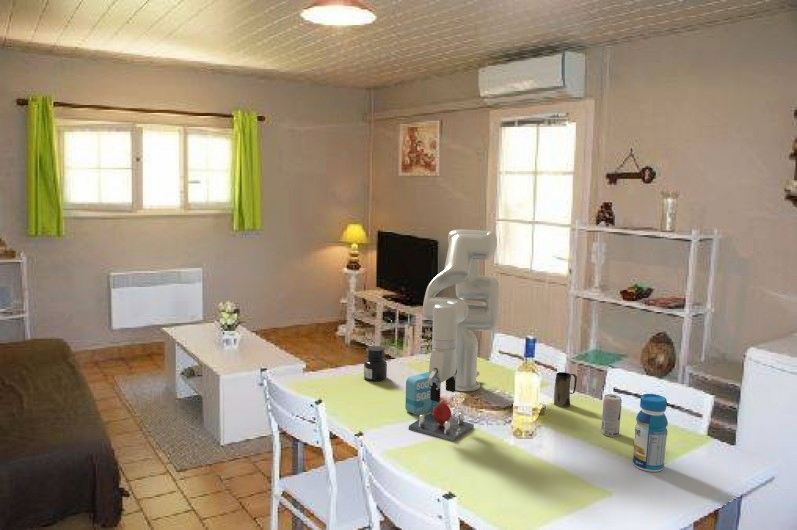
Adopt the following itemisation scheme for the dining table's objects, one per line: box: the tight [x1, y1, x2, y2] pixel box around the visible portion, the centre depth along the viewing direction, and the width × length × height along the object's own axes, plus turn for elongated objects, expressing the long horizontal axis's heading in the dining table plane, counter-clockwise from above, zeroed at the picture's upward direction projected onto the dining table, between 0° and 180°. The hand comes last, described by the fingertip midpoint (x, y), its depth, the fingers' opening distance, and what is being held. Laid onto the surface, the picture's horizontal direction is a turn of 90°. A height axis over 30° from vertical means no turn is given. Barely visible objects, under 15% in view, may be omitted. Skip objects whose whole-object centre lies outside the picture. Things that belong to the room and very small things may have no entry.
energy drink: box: [600, 393, 623, 438], centre depth 204 cm, size 5×5×12 cm
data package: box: [404, 371, 442, 415], centre depth 221 cm, size 12×4×12 cm, turn 130°
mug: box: [553, 371, 578, 409], centre depth 228 cm, size 8×6×12 cm
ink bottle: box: [363, 345, 388, 382], centre depth 253 cm, size 10×9×12 cm
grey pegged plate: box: [408, 406, 475, 442], centre depth 205 cm, size 13×16×5 cm
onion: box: [431, 400, 452, 425], centre depth 205 cm, size 6×6×8 cm
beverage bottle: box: [632, 393, 669, 473], centre depth 181 cm, size 8×8×20 cm
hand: (442, 395), depth 205 cm, fingers open, 9 cm apart
